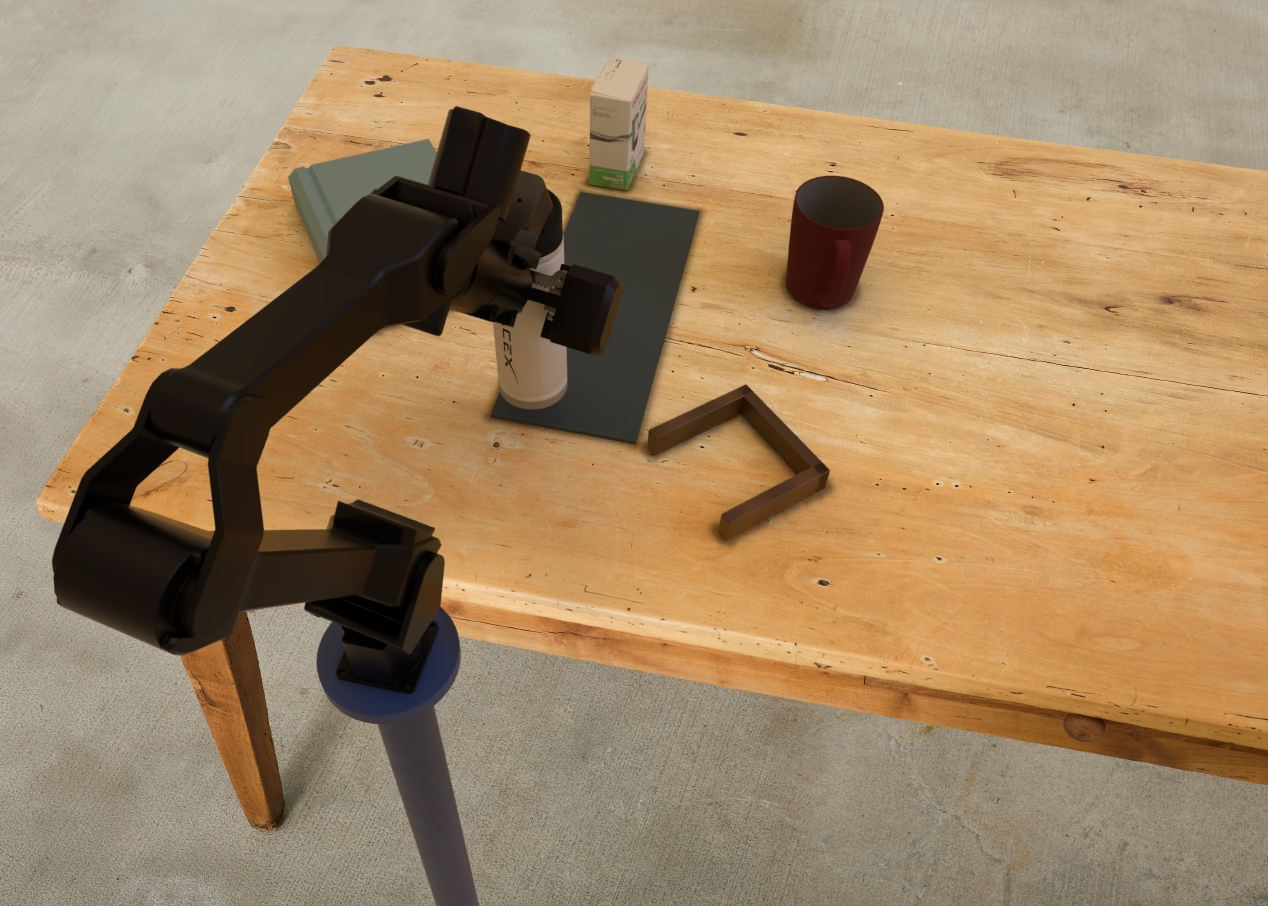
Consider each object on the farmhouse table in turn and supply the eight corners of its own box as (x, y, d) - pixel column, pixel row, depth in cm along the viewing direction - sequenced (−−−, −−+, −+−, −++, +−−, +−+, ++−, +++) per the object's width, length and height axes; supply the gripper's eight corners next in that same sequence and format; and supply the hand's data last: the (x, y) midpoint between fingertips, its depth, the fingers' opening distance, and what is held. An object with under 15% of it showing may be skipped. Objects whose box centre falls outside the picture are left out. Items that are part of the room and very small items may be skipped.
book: (502, 294, 110) (499, 257, 107) (351, 336, 106) (342, 298, 102) (433, 176, 123) (428, 138, 120) (295, 208, 118) (286, 170, 115)
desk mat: (635, 444, 98) (635, 441, 98) (490, 417, 99) (490, 415, 99) (699, 212, 121) (699, 210, 121) (580, 193, 122) (580, 191, 122)
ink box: (627, 192, 123) (631, 101, 114) (586, 185, 123) (587, 93, 114) (645, 151, 128) (650, 61, 119) (606, 144, 129) (608, 54, 120)
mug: (868, 337, 108) (893, 252, 100) (783, 333, 108) (800, 248, 100) (856, 262, 116) (878, 177, 108) (776, 258, 116) (791, 173, 108)
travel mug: (555, 355, 100) (548, 171, 85) (576, 402, 95) (572, 217, 81) (490, 369, 98) (472, 184, 83) (508, 417, 94) (493, 232, 79)
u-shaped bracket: (726, 540, 91) (729, 523, 89) (646, 447, 98) (648, 429, 96) (825, 487, 95) (830, 470, 94) (743, 401, 102) (746, 383, 100)
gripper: (618, 195, 73) (664, 234, 88) (380, 129, 76) (464, 177, 92) (572, 351, 74) (625, 362, 89) (340, 278, 78) (429, 301, 93)
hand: (535, 296), depth 90 cm, fingers closed on travel mug, 6 cm apart
